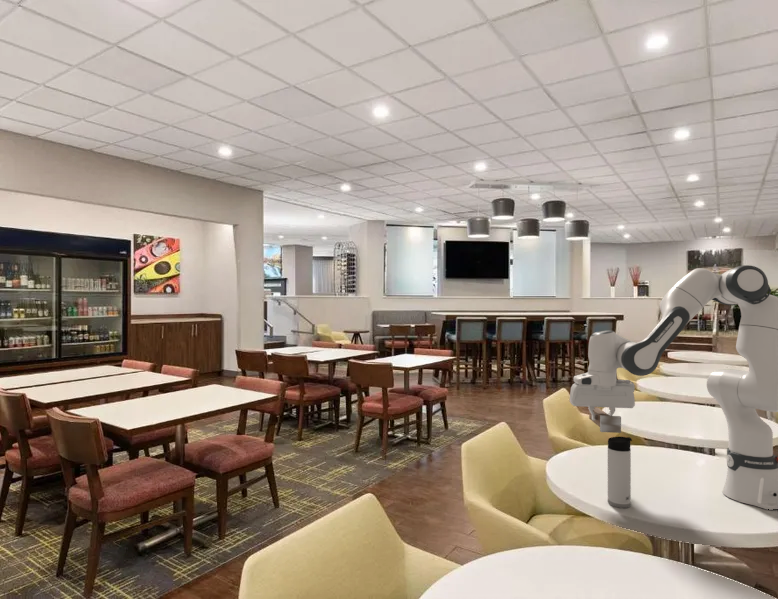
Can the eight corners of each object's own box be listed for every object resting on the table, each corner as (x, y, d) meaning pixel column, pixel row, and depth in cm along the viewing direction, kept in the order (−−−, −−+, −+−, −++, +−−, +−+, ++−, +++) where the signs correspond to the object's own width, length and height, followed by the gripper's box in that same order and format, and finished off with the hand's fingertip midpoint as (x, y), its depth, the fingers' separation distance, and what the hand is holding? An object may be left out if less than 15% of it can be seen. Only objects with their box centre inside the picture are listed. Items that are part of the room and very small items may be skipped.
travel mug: (634, 509, 143) (634, 441, 143) (610, 507, 145) (610, 439, 144) (628, 500, 149) (628, 435, 149) (605, 498, 151) (605, 434, 151)
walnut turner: (602, 419, 172) (602, 404, 172) (620, 432, 154) (621, 417, 154) (584, 418, 173) (584, 404, 173) (601, 432, 155) (601, 416, 155)
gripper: (631, 378, 166) (630, 419, 166) (568, 376, 168) (568, 416, 168) (638, 381, 159) (637, 423, 159) (573, 379, 162) (572, 421, 162)
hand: (601, 420), depth 164 cm, fingers closed on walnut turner, 3 cm apart
